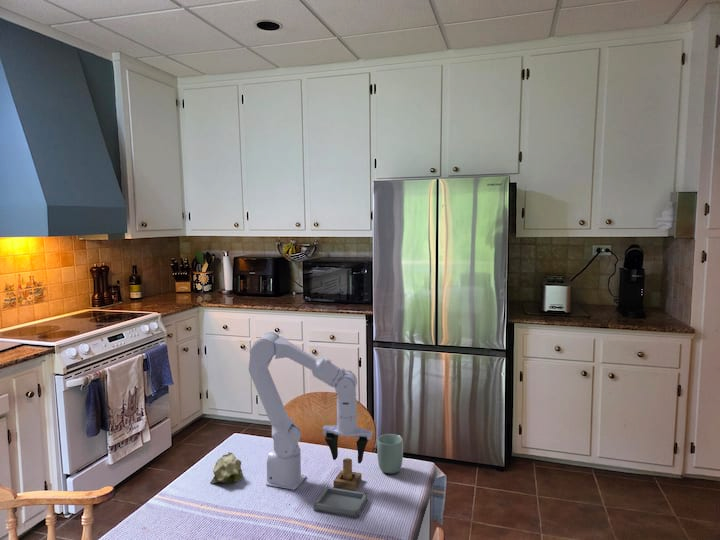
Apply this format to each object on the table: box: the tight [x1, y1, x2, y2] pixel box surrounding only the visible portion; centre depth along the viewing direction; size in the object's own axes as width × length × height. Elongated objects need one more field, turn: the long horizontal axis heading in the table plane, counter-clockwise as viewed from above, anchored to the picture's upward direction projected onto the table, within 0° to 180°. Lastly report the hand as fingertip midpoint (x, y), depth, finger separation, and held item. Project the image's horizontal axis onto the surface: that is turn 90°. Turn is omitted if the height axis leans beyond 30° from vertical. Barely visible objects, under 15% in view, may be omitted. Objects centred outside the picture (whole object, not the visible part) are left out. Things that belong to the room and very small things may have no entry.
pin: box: [342, 457, 353, 481], centre depth 140 cm, size 3×3×7 cm
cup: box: [376, 433, 404, 475], centre depth 147 cm, size 8×8×10 cm
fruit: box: [209, 451, 244, 485], centre depth 143 cm, size 9×9×8 cm
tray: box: [313, 486, 368, 519], centre depth 129 cm, size 12×9×2 cm
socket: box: [332, 469, 362, 491], centre depth 140 cm, size 6×6×2 cm
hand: (347, 460), depth 139 cm, fingers open, 7 cm apart
